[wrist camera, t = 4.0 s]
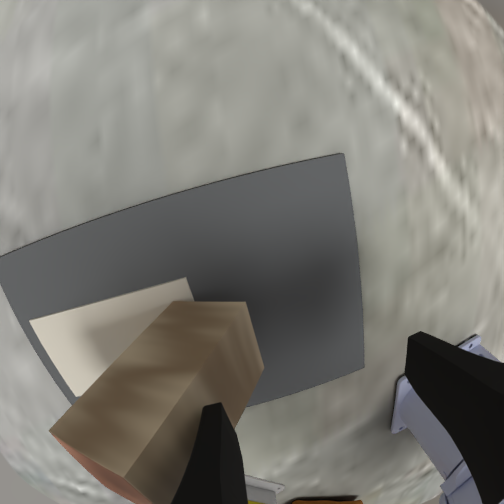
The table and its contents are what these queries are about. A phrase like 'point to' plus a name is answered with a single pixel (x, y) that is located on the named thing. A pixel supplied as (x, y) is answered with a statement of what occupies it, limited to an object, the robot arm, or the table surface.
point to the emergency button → (262, 490)
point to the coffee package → (327, 502)
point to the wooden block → (162, 398)
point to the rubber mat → (204, 276)
